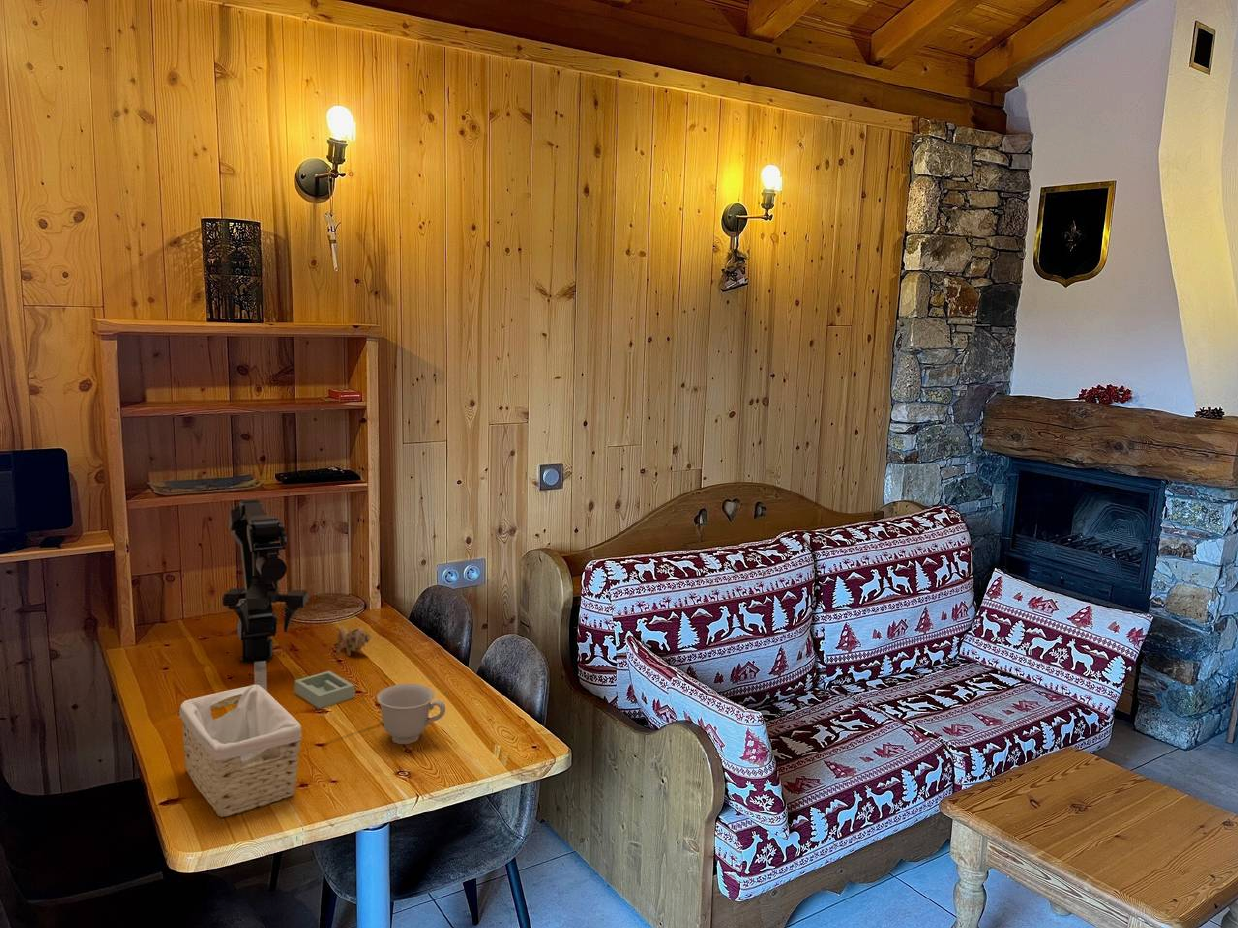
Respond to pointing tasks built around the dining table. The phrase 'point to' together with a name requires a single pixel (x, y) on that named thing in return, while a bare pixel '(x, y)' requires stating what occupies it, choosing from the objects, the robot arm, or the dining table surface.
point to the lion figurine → (352, 639)
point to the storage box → (324, 689)
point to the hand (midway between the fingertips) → (266, 631)
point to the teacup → (407, 711)
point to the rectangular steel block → (260, 674)
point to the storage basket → (240, 749)
